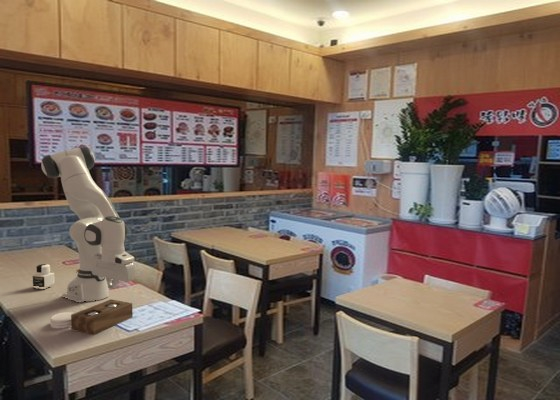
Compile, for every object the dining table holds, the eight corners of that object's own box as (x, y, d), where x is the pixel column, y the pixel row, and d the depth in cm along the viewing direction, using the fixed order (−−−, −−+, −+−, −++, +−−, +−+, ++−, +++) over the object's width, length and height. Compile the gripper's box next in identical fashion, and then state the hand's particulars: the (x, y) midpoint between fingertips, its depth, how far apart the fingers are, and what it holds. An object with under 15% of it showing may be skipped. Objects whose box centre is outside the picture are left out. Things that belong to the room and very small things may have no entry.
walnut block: (71, 329, 161) (71, 314, 161) (111, 312, 180) (110, 299, 179) (94, 334, 156) (93, 319, 156) (132, 317, 175) (132, 303, 174)
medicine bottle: (32, 289, 212) (31, 266, 210) (43, 285, 218) (42, 262, 217) (44, 290, 210) (43, 267, 209) (55, 286, 217) (54, 263, 216)
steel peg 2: (106, 317, 172) (105, 305, 171) (112, 314, 175) (112, 303, 174) (112, 319, 170) (112, 307, 170) (119, 316, 173) (118, 304, 173)
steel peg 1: (86, 326, 162) (85, 313, 162) (93, 323, 166) (93, 310, 165) (92, 327, 161) (92, 315, 161) (100, 324, 164) (99, 312, 164)
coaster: (82, 319, 172) (82, 311, 172) (71, 329, 162) (70, 320, 162) (58, 319, 172) (57, 311, 172) (45, 329, 162) (44, 320, 162)
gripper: (88, 253, 172) (87, 286, 173) (126, 261, 164) (125, 294, 166) (99, 251, 178) (99, 282, 179) (137, 258, 170) (136, 290, 171)
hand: (112, 288), depth 172 cm, fingers closed
